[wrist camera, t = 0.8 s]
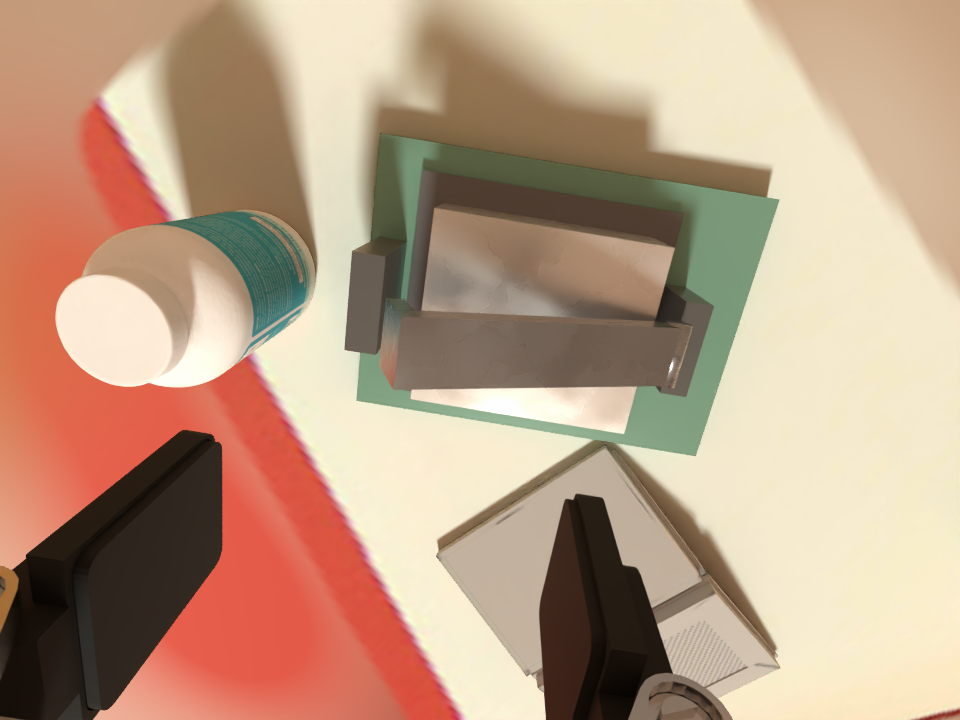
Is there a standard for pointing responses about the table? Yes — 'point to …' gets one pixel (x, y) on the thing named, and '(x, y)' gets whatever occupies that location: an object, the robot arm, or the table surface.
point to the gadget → (641, 543)
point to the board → (693, 263)
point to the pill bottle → (185, 298)
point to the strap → (526, 350)
